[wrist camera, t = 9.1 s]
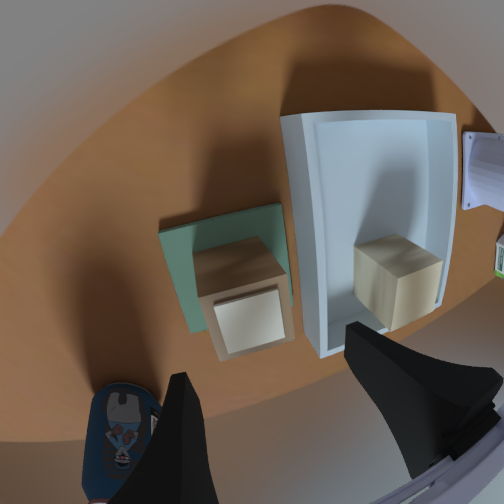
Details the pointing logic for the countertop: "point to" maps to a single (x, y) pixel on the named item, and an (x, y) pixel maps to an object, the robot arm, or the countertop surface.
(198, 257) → the brown wooden block
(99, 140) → the countertop surface
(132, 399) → the soda can
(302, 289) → the bin
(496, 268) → the syrup box
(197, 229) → the mat
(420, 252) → the birch block
